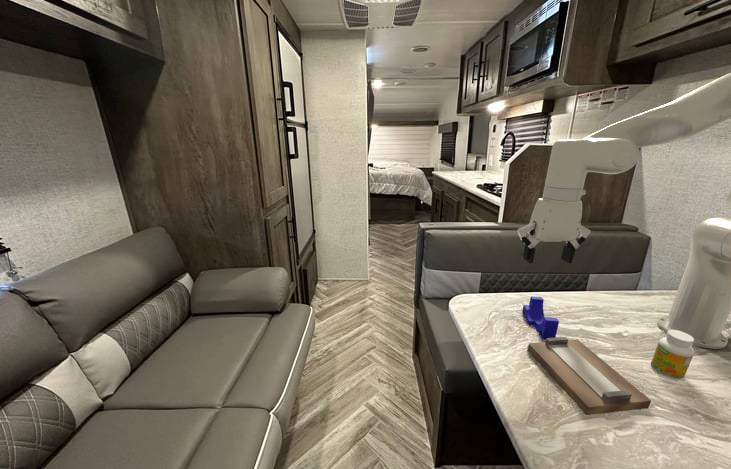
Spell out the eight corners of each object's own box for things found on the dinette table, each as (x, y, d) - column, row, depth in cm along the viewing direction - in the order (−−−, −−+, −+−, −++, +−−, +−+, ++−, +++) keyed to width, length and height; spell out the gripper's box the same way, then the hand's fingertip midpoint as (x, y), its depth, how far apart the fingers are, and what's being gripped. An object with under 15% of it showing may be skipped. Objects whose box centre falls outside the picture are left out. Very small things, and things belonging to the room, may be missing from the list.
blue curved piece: (522, 313, 88) (525, 295, 86) (538, 314, 87) (541, 297, 85) (535, 338, 76) (539, 319, 75) (554, 341, 76) (559, 321, 74)
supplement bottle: (644, 366, 67) (657, 330, 64) (658, 360, 69) (671, 325, 65) (674, 383, 62) (690, 346, 59) (689, 376, 64) (705, 339, 61)
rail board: (575, 345, 73) (578, 334, 72) (648, 408, 56) (653, 394, 55) (527, 349, 72) (529, 338, 71) (586, 415, 55) (590, 401, 54)
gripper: (586, 191, 72) (571, 255, 77) (516, 191, 72) (506, 255, 77) (611, 197, 65) (592, 267, 70) (533, 197, 65) (520, 267, 70)
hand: (547, 261), depth 74 cm, fingers open, 9 cm apart
